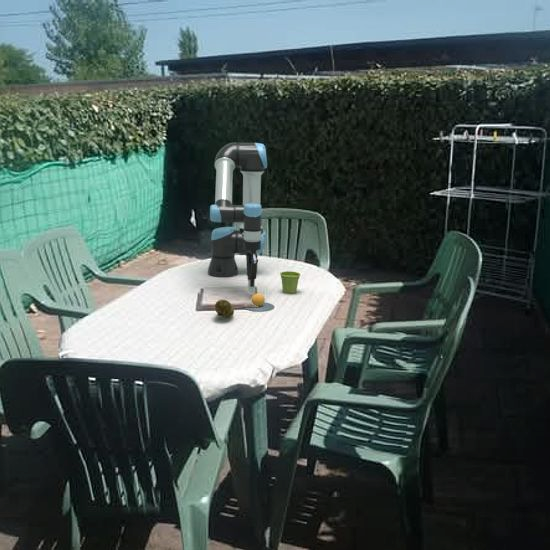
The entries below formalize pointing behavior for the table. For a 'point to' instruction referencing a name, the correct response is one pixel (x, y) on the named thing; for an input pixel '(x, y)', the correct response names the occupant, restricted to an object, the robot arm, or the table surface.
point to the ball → (258, 299)
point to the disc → (262, 308)
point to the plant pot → (289, 281)
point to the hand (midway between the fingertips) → (251, 293)
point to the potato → (224, 308)
